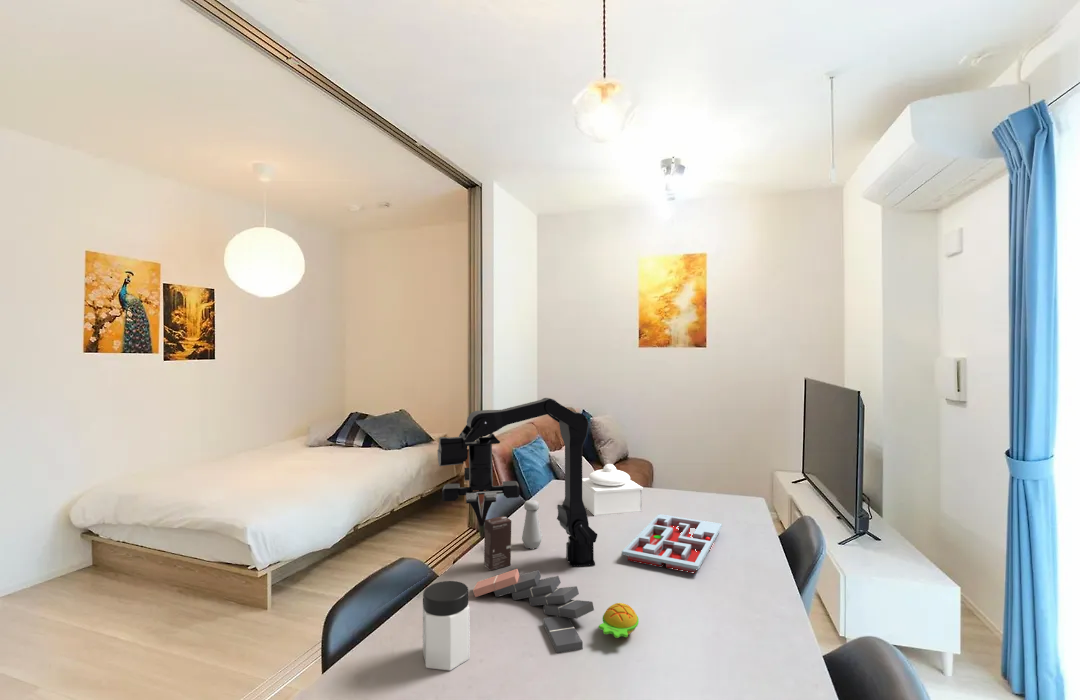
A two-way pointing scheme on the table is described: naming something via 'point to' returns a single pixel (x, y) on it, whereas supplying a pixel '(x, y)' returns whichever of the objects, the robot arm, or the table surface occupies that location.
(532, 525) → the salt shaker
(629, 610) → the toy burger bun
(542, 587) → the domino
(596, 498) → the butter dish
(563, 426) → the robot arm
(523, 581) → the domino
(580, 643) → the domino
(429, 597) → the jar
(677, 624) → the table surface
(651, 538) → the maze game
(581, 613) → the domino
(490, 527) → the box
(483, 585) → the domino
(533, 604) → the domino
